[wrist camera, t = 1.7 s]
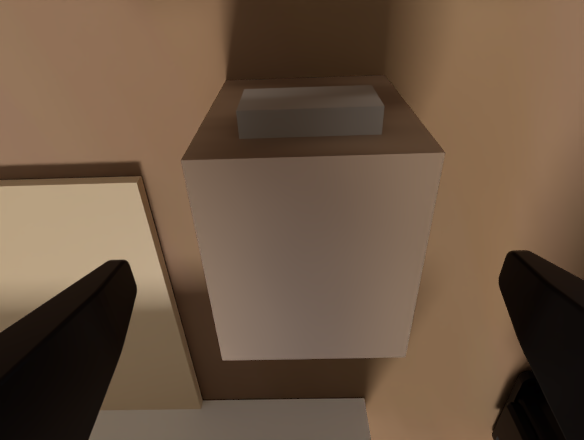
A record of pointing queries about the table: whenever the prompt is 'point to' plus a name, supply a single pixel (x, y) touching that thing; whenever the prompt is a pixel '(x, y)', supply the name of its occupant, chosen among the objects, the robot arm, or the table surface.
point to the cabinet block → (312, 216)
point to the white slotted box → (138, 317)
